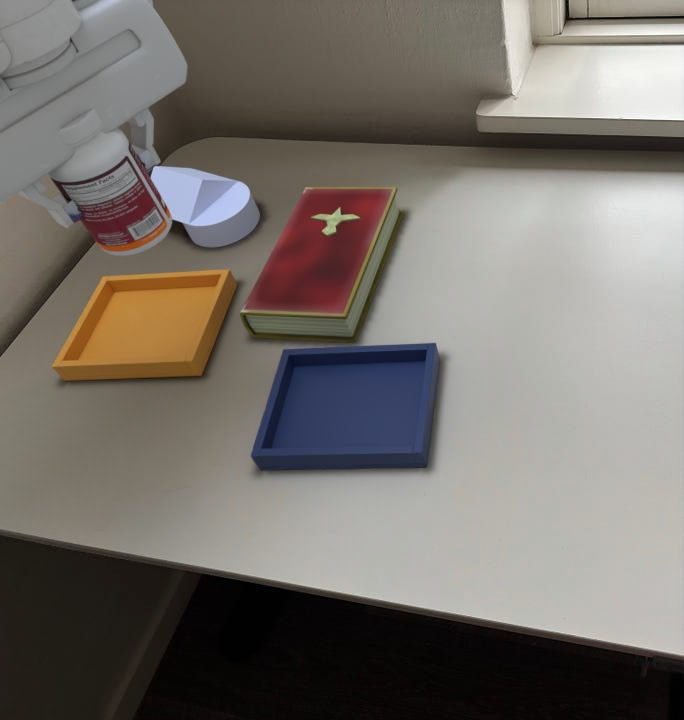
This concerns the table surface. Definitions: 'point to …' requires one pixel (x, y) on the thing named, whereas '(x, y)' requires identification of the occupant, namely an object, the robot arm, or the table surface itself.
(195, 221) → the wedge on round base
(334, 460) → the navy tray
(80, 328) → the amber tray
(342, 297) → the hardcover book
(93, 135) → the pill bottle
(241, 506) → the table surface
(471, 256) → the table surface
